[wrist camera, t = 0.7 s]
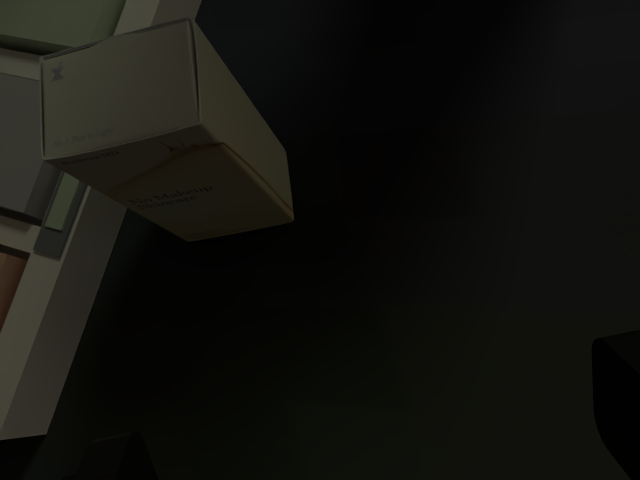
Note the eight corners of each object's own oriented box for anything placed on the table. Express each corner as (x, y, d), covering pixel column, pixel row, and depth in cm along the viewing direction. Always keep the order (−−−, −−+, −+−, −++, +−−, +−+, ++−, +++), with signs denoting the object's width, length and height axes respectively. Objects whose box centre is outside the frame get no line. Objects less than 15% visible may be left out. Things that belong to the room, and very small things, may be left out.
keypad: (56, -51, 39) (14, -95, 36) (213, -32, 36) (184, -79, 32) (-114, 368, 35) (-182, 367, 31) (46, 434, 32) (-9, 441, 28)
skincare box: (187, 244, 32) (33, 168, 21) (181, 167, 33) (31, 55, 22) (300, 222, 31) (202, 127, 19) (289, 143, 32) (191, 10, 21)
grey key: (-6, 82, 34) (-30, 67, 33) (92, 103, 32) (71, 87, 31) (-51, 193, 33) (-79, 183, 32) (47, 221, 31) (23, 212, 30)
